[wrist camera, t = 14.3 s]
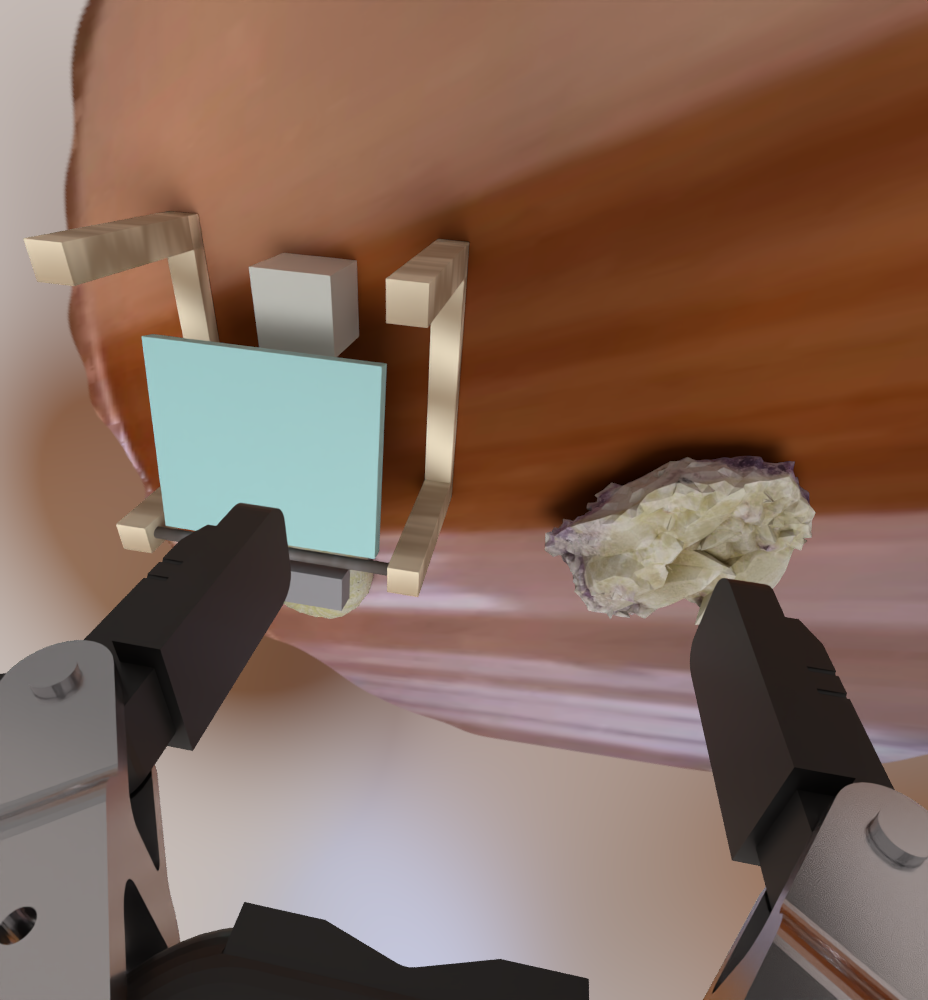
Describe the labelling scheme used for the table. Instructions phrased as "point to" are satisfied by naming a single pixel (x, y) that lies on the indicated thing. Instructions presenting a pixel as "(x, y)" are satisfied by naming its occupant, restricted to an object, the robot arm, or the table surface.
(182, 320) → the frame
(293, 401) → the trapdoor
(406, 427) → the table surface
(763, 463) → the geode
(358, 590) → the sea urchin shell
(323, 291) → the grey cube
